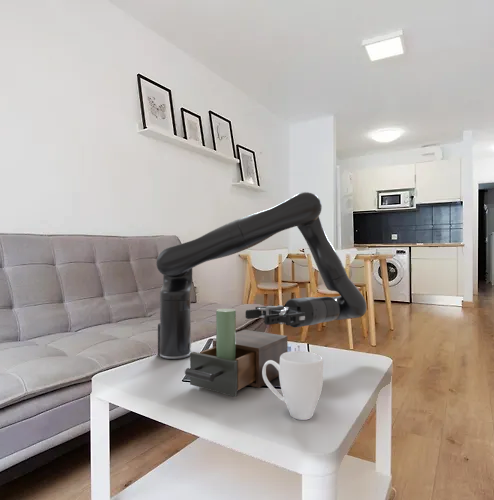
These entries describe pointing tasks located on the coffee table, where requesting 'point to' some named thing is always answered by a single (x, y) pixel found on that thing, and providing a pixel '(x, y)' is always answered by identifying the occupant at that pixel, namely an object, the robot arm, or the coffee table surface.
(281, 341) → the cabinet
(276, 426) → the coffee table surface
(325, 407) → the coffee table surface
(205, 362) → the drawer
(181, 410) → the coffee table surface
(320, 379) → the mug
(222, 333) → the green cylinder
